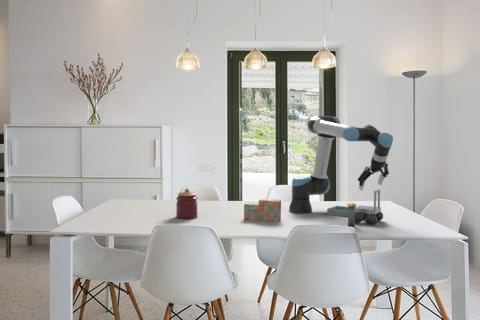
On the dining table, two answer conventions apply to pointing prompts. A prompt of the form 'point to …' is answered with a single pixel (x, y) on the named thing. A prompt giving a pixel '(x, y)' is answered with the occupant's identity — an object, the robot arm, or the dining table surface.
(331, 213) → the tray
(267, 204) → the stack of blocks
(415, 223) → the dining table surface
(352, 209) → the stop pin
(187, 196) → the canister
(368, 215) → the trolley
